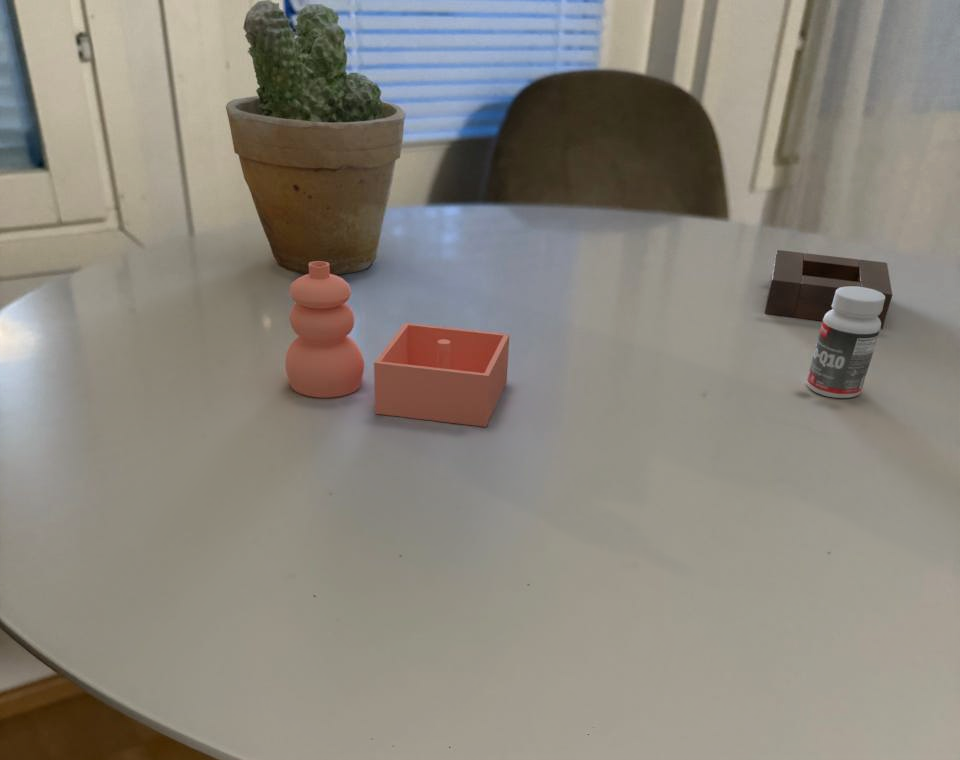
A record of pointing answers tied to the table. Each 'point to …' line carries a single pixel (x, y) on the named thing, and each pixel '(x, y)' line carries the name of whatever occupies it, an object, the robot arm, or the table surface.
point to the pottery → (393, 358)
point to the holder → (820, 283)
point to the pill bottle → (846, 342)
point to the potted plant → (314, 142)
